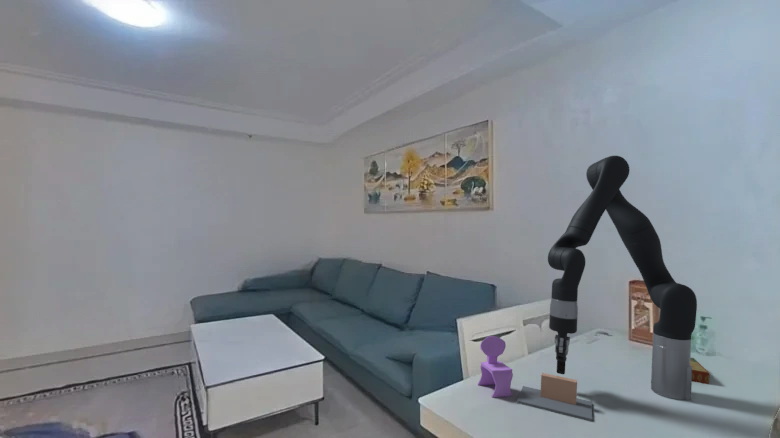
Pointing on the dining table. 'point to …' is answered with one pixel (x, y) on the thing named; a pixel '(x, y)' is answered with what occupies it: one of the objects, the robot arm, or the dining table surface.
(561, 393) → the block
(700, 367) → the carton
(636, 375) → the dining table surface
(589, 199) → the robot arm
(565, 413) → the mat
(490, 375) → the toy chair
